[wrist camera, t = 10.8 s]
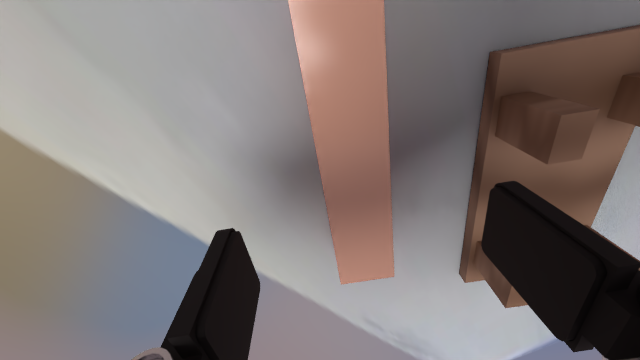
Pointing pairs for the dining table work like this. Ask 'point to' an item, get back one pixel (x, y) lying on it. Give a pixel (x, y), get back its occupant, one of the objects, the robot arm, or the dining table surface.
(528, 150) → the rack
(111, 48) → the dining table surface
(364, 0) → the clay strip
